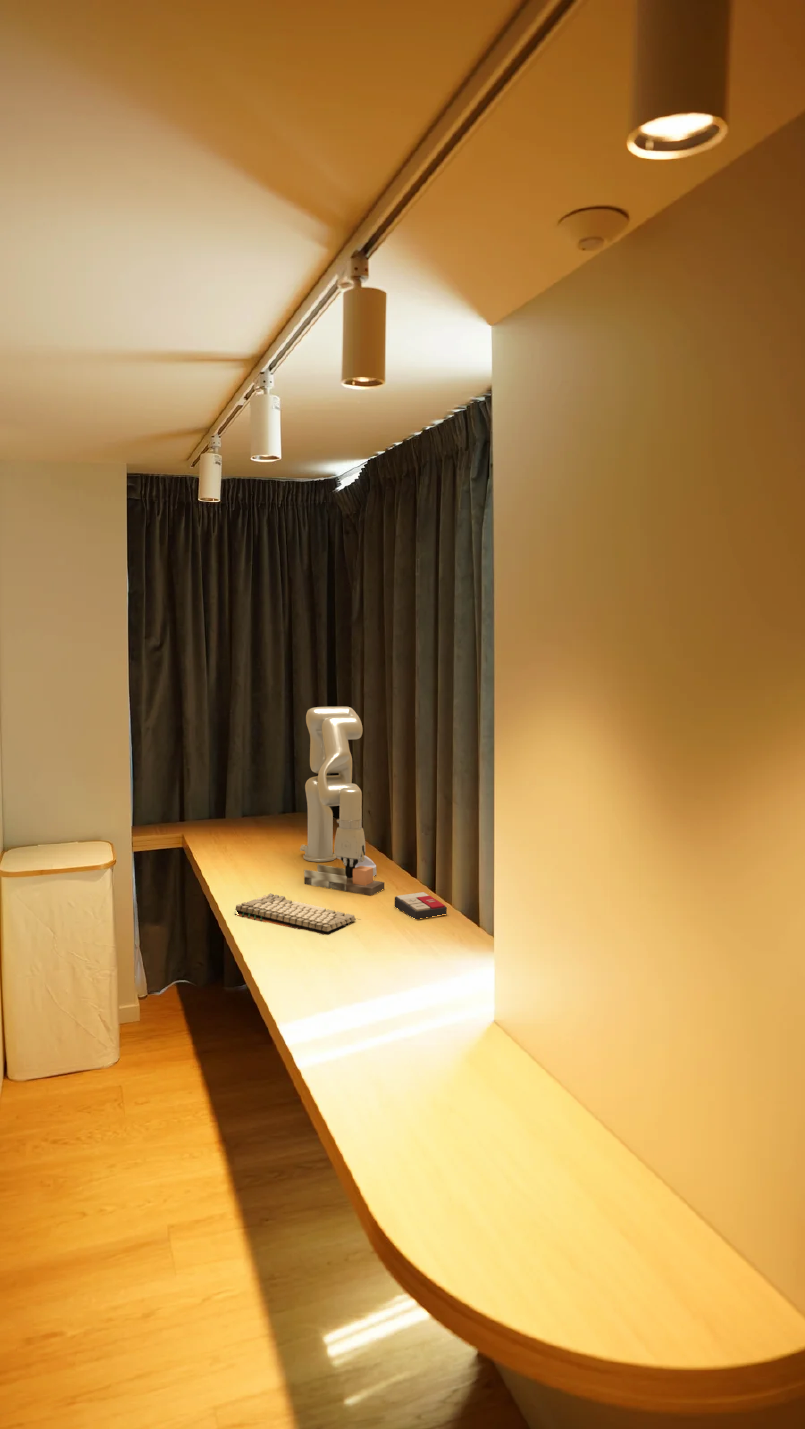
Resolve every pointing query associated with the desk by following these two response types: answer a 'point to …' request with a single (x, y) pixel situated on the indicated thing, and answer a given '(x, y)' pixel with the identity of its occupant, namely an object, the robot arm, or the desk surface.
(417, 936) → the desk surface
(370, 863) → the wedge on round base
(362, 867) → the block
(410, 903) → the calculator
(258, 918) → the mechanical keyboard
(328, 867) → the open channel deck
